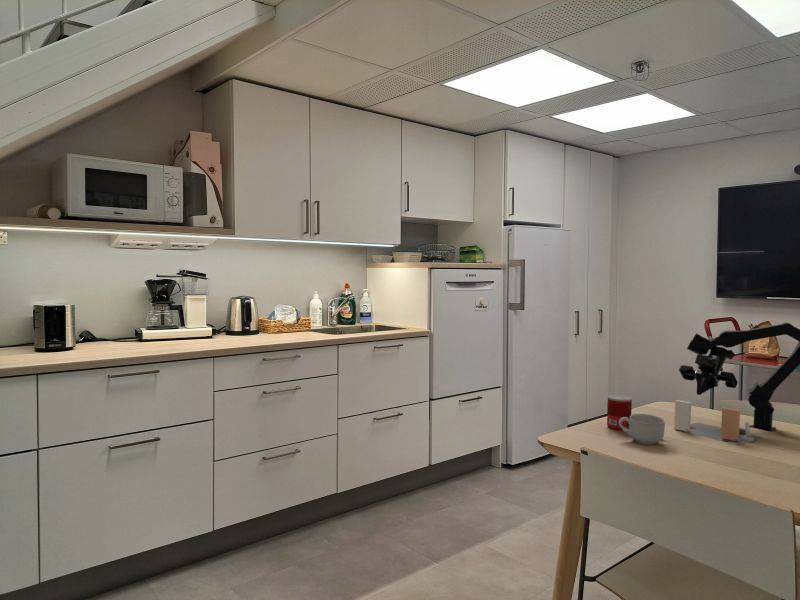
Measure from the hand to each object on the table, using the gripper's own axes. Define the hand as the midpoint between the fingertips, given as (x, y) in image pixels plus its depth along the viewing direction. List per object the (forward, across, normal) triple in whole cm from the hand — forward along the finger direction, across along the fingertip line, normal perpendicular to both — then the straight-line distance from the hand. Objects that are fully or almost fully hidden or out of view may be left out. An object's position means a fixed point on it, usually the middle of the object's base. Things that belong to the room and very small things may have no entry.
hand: (698, 394), depth 202 cm
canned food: (+26, -15, -8) cm, 31 cm away
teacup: (+32, -2, -14) cm, 34 cm away
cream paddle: (+16, +1, 0) cm, 16 cm away
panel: (+12, +9, +6) cm, 16 cm away
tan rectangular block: (+14, +16, +1) cm, 21 cm away
